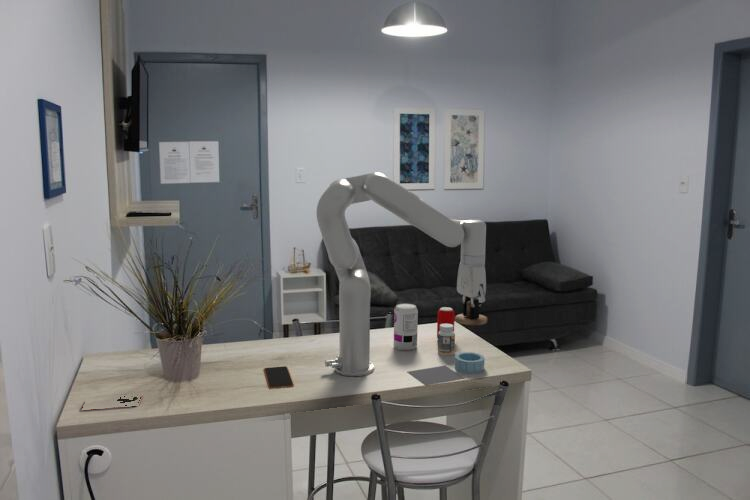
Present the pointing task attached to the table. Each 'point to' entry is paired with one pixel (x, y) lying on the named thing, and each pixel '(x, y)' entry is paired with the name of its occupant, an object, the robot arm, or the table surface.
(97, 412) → the table surface
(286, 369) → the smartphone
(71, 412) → the table surface
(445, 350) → the pill bottle
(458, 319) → the lid
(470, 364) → the bowl
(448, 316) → the beverage can
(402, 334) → the supplement can
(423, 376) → the mat
